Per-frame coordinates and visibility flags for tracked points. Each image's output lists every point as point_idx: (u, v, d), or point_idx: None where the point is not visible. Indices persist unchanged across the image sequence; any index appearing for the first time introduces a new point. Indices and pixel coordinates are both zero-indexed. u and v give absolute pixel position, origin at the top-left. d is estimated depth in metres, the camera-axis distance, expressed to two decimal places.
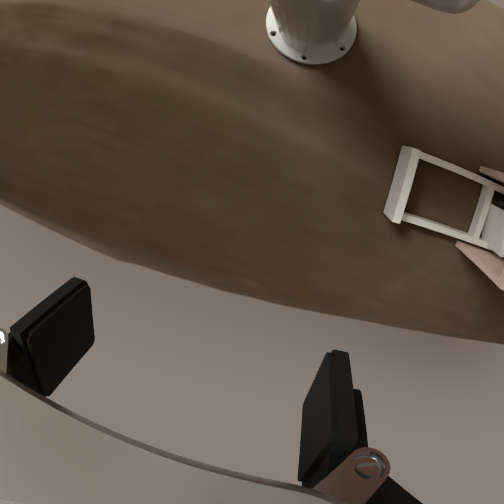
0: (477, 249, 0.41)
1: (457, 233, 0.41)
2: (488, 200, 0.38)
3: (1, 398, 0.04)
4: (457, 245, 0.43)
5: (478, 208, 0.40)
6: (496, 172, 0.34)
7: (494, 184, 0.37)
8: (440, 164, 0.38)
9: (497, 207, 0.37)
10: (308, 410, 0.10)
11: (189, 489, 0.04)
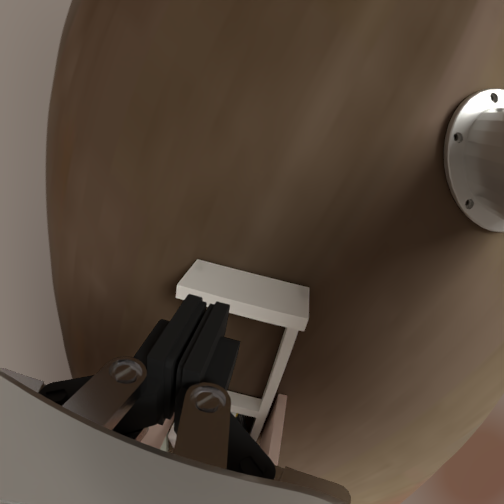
0: None
1: None
2: (240, 410, 0.33)
3: (1, 398, 0.04)
4: None
5: None
6: (280, 429, 0.29)
7: (263, 417, 0.32)
8: (283, 350, 0.28)
9: None
10: None
11: (189, 488, 0.04)
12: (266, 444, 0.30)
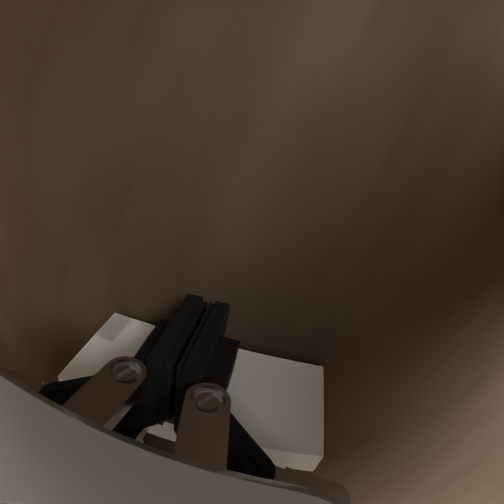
0: None
1: None
2: None
3: (1, 398, 0.04)
4: None
5: None
6: None
7: None
8: None
9: None
10: None
11: (190, 489, 0.04)
12: None
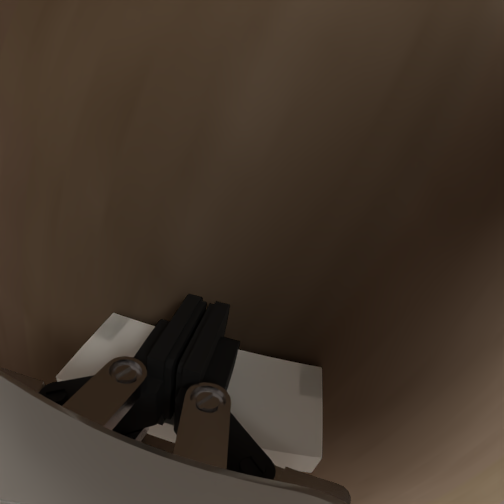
0: None
1: None
2: None
3: (1, 398, 0.04)
4: None
5: None
6: None
7: None
8: None
9: None
10: None
11: (189, 488, 0.04)
12: None
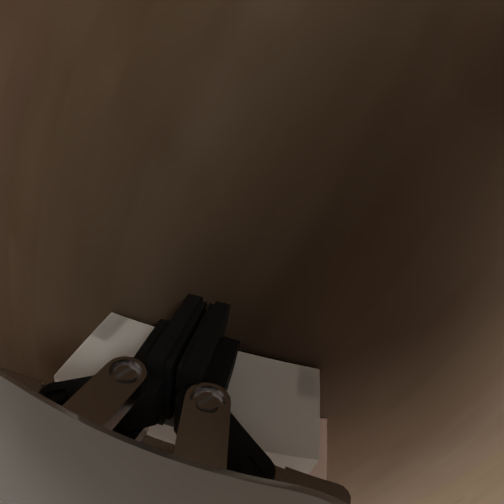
0: None
1: None
2: None
3: (1, 398, 0.04)
4: None
5: None
6: None
7: None
8: None
9: None
10: None
11: (189, 488, 0.04)
12: None
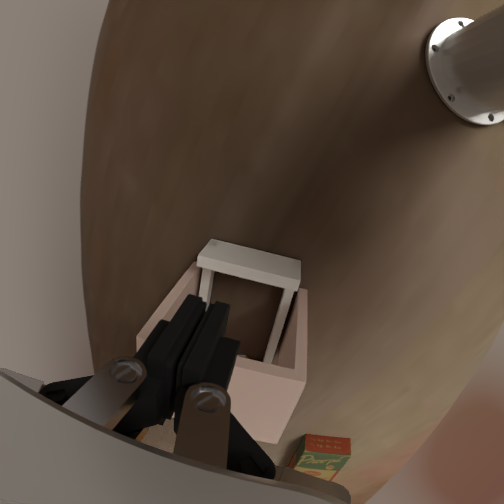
0: None
1: None
2: None
3: (1, 398, 0.04)
4: (194, 264, 0.37)
5: None
6: (304, 312, 0.32)
7: None
8: (280, 312, 0.36)
9: None
10: None
11: (189, 488, 0.04)
12: (290, 334, 0.33)
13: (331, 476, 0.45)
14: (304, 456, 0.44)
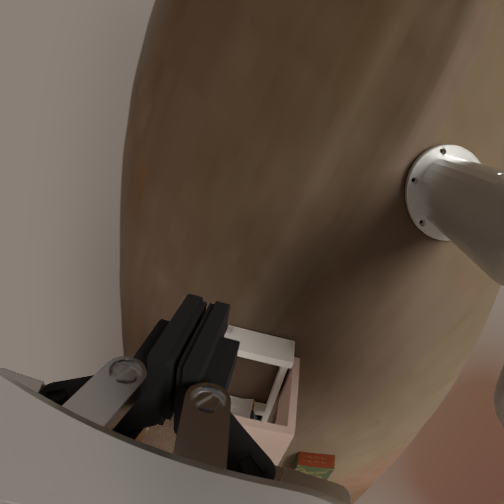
0: None
1: None
2: None
3: (1, 398, 0.04)
4: None
5: (244, 402, 0.52)
6: (296, 380, 0.43)
7: (267, 416, 0.51)
8: (279, 376, 0.47)
9: (249, 415, 0.49)
10: None
11: (189, 488, 0.04)
12: (286, 393, 0.44)
13: None
14: (298, 469, 0.55)
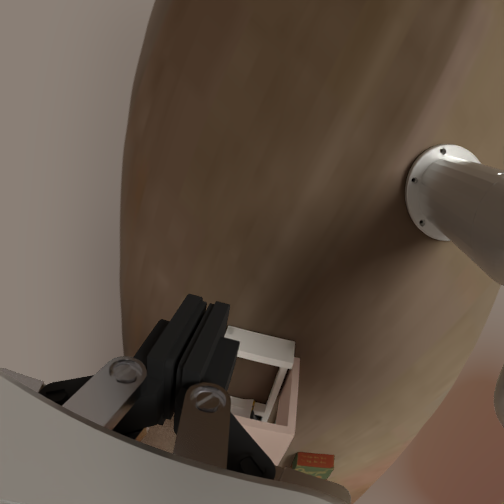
0: None
1: None
2: None
3: (1, 398, 0.04)
4: None
5: (244, 403, 0.52)
6: (296, 380, 0.43)
7: (267, 416, 0.51)
8: (279, 376, 0.47)
9: (249, 415, 0.49)
10: None
11: (190, 488, 0.04)
12: (286, 393, 0.44)
13: None
14: (297, 469, 0.55)
